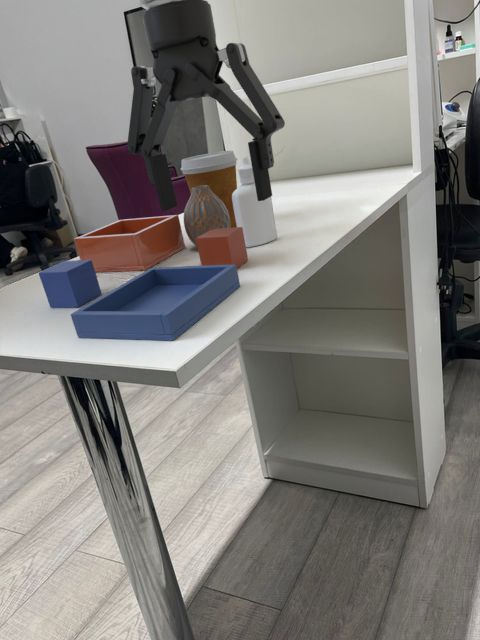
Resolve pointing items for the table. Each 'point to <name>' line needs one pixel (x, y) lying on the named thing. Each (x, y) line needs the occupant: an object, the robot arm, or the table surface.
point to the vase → (204, 213)
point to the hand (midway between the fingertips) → (215, 204)
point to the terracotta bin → (131, 243)
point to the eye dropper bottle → (253, 210)
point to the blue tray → (157, 303)
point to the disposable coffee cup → (214, 176)
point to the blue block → (70, 284)
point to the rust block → (222, 247)
